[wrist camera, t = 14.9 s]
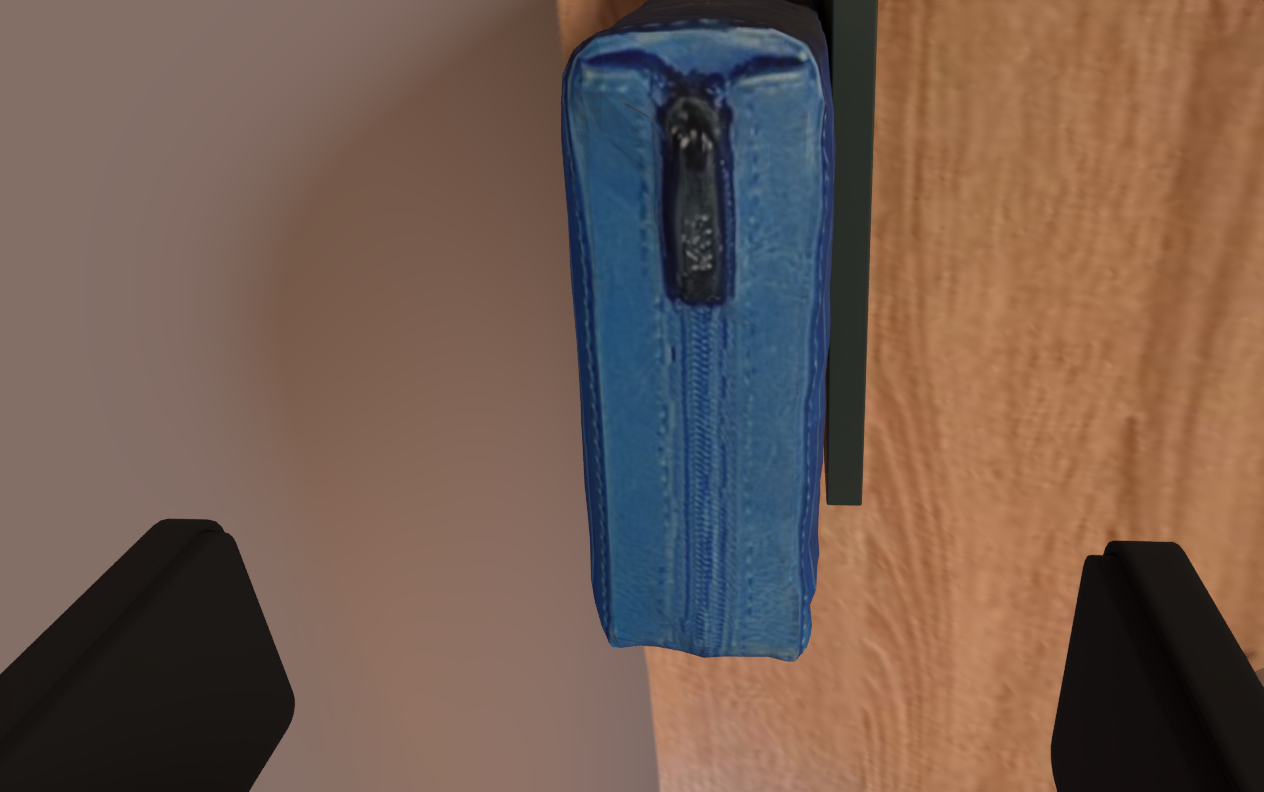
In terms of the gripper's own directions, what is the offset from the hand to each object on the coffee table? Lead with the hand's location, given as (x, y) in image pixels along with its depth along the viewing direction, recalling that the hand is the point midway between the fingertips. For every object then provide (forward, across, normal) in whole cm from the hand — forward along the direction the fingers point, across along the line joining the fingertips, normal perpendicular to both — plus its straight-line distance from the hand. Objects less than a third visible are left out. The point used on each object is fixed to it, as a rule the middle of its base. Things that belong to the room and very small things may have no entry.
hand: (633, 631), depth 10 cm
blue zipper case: (+27, 0, +1) cm, 27 cm away
